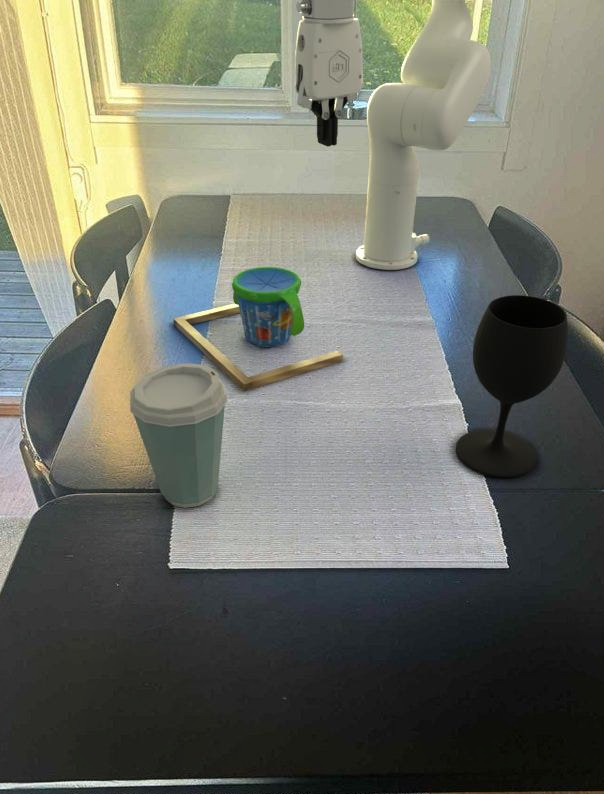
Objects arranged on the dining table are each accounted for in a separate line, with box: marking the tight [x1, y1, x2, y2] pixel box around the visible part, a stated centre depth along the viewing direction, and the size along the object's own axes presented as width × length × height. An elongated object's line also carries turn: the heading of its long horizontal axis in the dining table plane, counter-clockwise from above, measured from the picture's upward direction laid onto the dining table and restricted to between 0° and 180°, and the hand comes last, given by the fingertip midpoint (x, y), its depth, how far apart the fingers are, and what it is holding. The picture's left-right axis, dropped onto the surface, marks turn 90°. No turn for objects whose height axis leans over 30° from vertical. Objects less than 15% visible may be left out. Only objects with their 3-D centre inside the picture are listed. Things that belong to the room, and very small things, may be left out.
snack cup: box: [231, 266, 305, 348], centre depth 112 cm, size 16×10×10 cm
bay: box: [172, 303, 344, 392], centre depth 114 cm, size 18×25×1 cm
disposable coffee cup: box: [129, 362, 229, 509], centre depth 80 cm, size 11×11×15 cm
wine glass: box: [454, 294, 569, 479], centre depth 85 cm, size 10×10×20 cm
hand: (327, 143), depth 113 cm, fingers closed
